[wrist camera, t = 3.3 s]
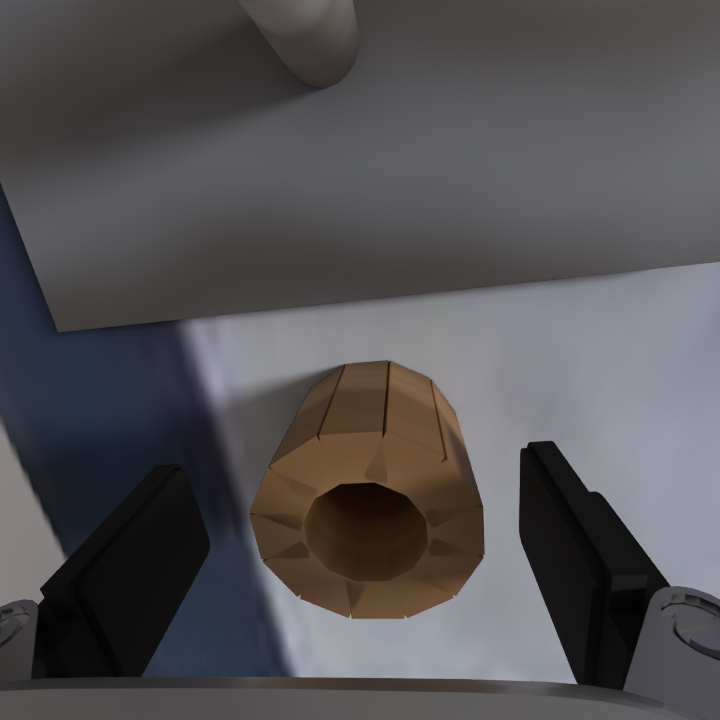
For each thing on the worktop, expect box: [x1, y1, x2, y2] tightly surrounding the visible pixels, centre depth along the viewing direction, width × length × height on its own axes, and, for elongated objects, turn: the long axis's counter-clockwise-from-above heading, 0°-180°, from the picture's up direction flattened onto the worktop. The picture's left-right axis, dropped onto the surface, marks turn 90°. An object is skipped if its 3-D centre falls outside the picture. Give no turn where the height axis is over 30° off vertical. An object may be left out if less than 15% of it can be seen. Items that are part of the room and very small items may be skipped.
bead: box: [250, 361, 484, 619], centre depth 12 cm, size 6×6×5 cm
